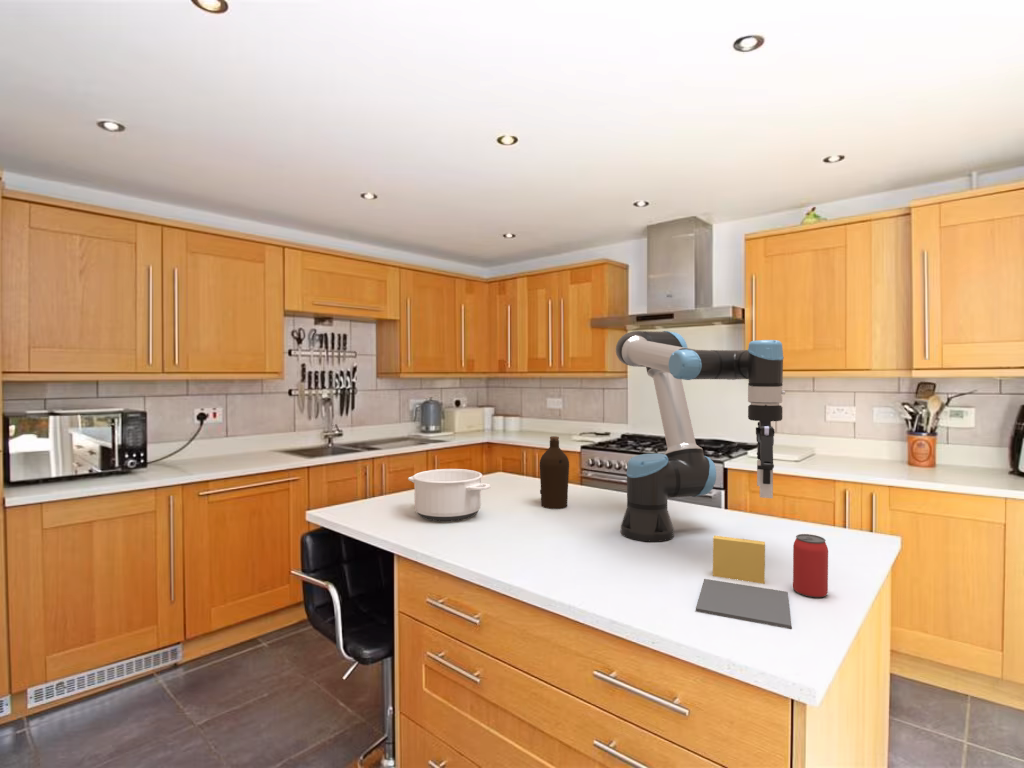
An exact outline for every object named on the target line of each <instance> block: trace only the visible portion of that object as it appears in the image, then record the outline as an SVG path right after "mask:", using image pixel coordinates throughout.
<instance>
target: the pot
mask: <svg viewBox="0 0 1024 768" xmlns="http://www.w3.org/2000/svg"><path fill="white" fill-rule="evenodd" d="M482 478H483V473H481V472H480V471H476V470H472V469H466V468H465V469H464V468H439V469H430V470H425V471H420V472H417V473H415V474H414V475H412V476H409V477H408V478H407V480H408V481H410V482H412V483H413V484H414V510H415V512H416V514H417V515H418V516H420V517H421V518H422V519H425V520H429V521H431V522H432V521H433V522H444V523H445V522H458V521H464V520H467V519H469V518H472V517H473V516H474V517H475V515H477V514H478V513H479V510H480V509H481V505H482V503H481V502H482V496H481V495H482V491H484V490H488V489H491V484H489V483H486V482H485V483H484V482H481V481H482Z"/></svg>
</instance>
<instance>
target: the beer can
mask: <svg viewBox="0 0 1024 768" xmlns="http://www.w3.org/2000/svg"><path fill="white" fill-rule="evenodd" d="M792 552H793V555H792V561H793V562H792V566H793V567H792V587H793V590H794V591H795V592H796V593H797V594H800V595H802V596H805V597H808V598H814V599H815V598H818V599H819V598H824V597H826V596H828V593H829V590H828V587H829V549H828V545H827V542H826V539H825V538H824V537H822V536H819V535H817V534H811V533H809V534H808V533H799V534H796V536H795V540H794V542H793V549H792Z"/></svg>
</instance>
